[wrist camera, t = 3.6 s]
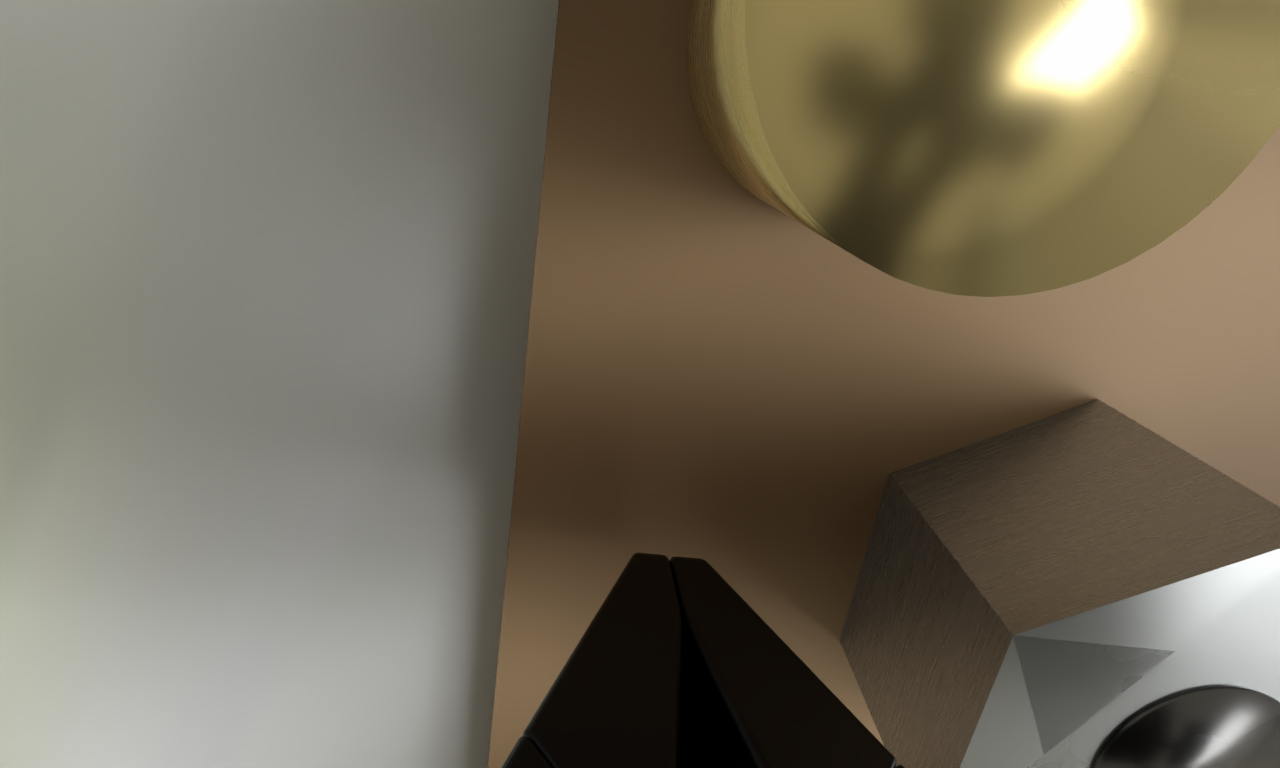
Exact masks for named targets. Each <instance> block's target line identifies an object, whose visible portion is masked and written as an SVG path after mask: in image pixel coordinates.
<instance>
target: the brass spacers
mask: <svg viewBox="0 0 1280 768" xmlns="http://www.w3.org/2000/svg"><path fill="white" fill-rule="evenodd" d="M686 67H687V78H688V85H689V92H690V97H691V101H692V104H693V108H694V112H695V115H696V118H697V121H698V123H699V125H700V128H701V130H702V133H703V135H704V137H705V139H706V141H707V143H708V144H709V146H710V148H711V149H712V151H713V153H714V155H715V156H716V158H717V159H718V160H719V161H720V163H721V164H722V165H723V167H724V168H725V169H726V170H727V172H728V173H729V174H730V175H731V176H732V177H733V178H734V179H735V180H736V181H737V182H738V183H739V184H740V185H741V186H742V187H744V188H745V189H746V190H748V191H749V192H751V193H752V194H753V195H755V196H756V197H757V198H759V199H760V200H762V201H764V202H765V203H767V204H769V205H770V206H772V207H774V208H775V209H777V210H779V211H780V212H782V213H784V214H785V215H787V216H789V217H790V218H792V219H794V220H795V221H797V222H799V223H800V224H802V225H804V226H805V227H807V228H809V229H810V230H812V231H814V232H815V233H817V234H819V235H820V236H822V237H824V238H825V239H827V240H829V241H830V242H832V243H834V244H835V245H837V246H839V247H840V248H842V249H844V250H845V251H847V252H849V253H850V254H852V255H854V256H855V257H857V258H859V259H860V260H862V261H864V262H866V263H867V264H869V265H871V266H873V267H875V268H877V269H879V270H880V271H882V272H884V273H886V274H888V275H890V276H892V277H894V278H897V279H899V280H902V281H905V282H908V283H911V284H913V285H916V286H919V287H922V288H925V289H930V290H935V291H939V292H944V293H949V294H954V295H964V296H978V297H1001V296H1018V295H1027V294H1032V293H1037V292H1043V291H1048V290H1053V289H1058V288H1061V287H1065V286H1068V285H1071V284H1074V283H1077V282H1081V281H1084V280H1087V279H1090V278H1093V277H1095V276H1097V275H1100V274H1102V273H1104V272H1107V271H1109V270H1111V269H1113V268H1116V267H1118V266H1120V265H1123V264H1125V263H1127V262H1129V261H1130V260H1132V259H1134V258H1135V257H1137V256H1139V255H1141V254H1142V253H1144V252H1146V251H1148V250H1149V249H1151V248H1153V247H1155V246H1156V245H1158V244H1160V243H1161V242H1162V241H1164V240H1165V239H1167V238H1168V237H1169V236H1171V235H1172V234H1174V233H1175V232H1176V231H1178V230H1179V229H1181V228H1182V227H1183V226H1185V225H1186V224H1187V223H1189V222H1190V221H1192V220H1193V219H1194V218H1195V217H1196V216H1197V215H1198V214H1200V213H1201V212H1202V211H1203V210H1204V209H1205V208H1206V207H1207V206H1209V205H1210V204H1211V203H1212V202H1213V201H1214V200H1215V199H1217V198H1218V197H1219V196H1220V195H1221V194H1222V193H1223V192H1224V191H1225V190H1226V189H1227V188H1228V187H1229V186H1230V185H1231V184H1232V182H1233V181H1234V180H1235V179H1236V178H1237V177H1238V176H1239V175H1240V174H1241V173H1242V172H1243V171H1244V170H1245V168H1246V167H1247V166H1248V165H1249V164H1250V163H1251V162H1252V161H1253V159H1254V158H1255V157H1256V155H1257V154H1258V153H1259V152H1260V150H1261V149H1262V148H1263V146H1264V145H1265V144H1266V142H1267V141H1268V140H1269V138H1270V137H1271V136H1272V135H1273V133H1274V132H1275V131H1276V129H1277V128H1278V126H1279V125H1280V0H693V4H692V9H691V14H690V18H689V23H688V32H687V43H686Z"/></svg>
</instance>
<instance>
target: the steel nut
mask: <svg viewBox="0 0 1280 768" xmlns="http://www.w3.org/2000/svg"><path fill="white" fill-rule="evenodd" d="M839 641H840V643H841V645H842V648H843V650H844V652H845V655H846V657H847V659H848V662H849V664H850V666H851V669H852V671H853V673H854V676H855V678H856V681H857V683H858V685H859V688H860V690H861V692H862V695H863V697H864V699H865V702H866V704H867V706H868V709H869V711H870V713H871V716H872V718H873V721H874V723H875V725H876V728H877V730H878V732H879V735H880V737H881V739H882V742H883V744H884V746H885V748H886V749H887V750H888V751H889V752H890V753H891V754H892V755H893V756H894V757H895V758H896V760H897V764H896V766H898V765H902V766H904V767H905V768H1280V507H1279V506H1277V505H1276V504H1274V503H1272V502H1271V501H1269V500H1267V499H1265V498H1264V497H1262V496H1260V495H1259V494H1257V493H1255V492H1254V491H1252V490H1250V489H1249V488H1247V487H1245V486H1244V485H1242V484H1240V483H1239V482H1237V481H1235V480H1233V479H1232V478H1230V477H1228V476H1227V475H1225V474H1223V473H1222V472H1220V471H1218V470H1217V469H1215V468H1213V467H1212V466H1210V465H1208V464H1207V463H1205V462H1203V461H1201V460H1200V459H1198V458H1196V457H1195V456H1193V455H1191V454H1190V453H1188V452H1186V451H1185V450H1183V449H1181V448H1180V447H1178V446H1176V445H1175V444H1173V443H1171V442H1169V441H1168V440H1166V439H1164V438H1163V437H1161V436H1159V435H1158V434H1156V433H1154V432H1153V431H1151V430H1149V429H1148V428H1146V427H1144V426H1143V425H1141V424H1139V423H1137V422H1136V421H1134V420H1132V419H1131V418H1129V417H1127V416H1126V415H1124V414H1122V413H1121V412H1119V411H1117V410H1116V409H1114V408H1112V407H1110V406H1109V405H1107V404H1105V403H1104V402H1102V401H1100V400H1099V399H1096V400H1094V401H1091V402H1088V403H1085V404H1082V405H1080V406H1077V407H1074V408H1071V409H1068V410H1066V411H1063V412H1060V413H1057V414H1054V415H1052V416H1049V417H1046V418H1043V419H1040V420H1038V421H1035V422H1032V423H1029V424H1026V425H1023V426H1021V427H1018V428H1015V429H1012V430H1009V431H1007V432H1004V433H1001V434H998V435H995V436H993V437H990V438H987V439H984V440H981V441H979V442H976V443H973V444H970V445H967V446H965V447H962V448H959V449H956V450H953V451H951V452H948V453H945V454H942V455H939V456H937V457H934V458H931V459H928V460H925V461H923V462H920V463H917V464H914V465H911V466H909V467H906V468H903V469H900V470H897V471H895V472H892V473H890V474H889V478H888V481H887V484H886V488H885V491H884V494H883V498H882V501H881V504H880V507H879V511H878V514H877V517H876V521H875V524H874V527H873V531H872V534H871V537H870V541H869V544H868V547H867V551H866V554H865V557H864V560H863V564H862V567H861V570H860V574H859V577H858V580H857V584H856V587H855V590H854V594H853V597H852V600H851V604H850V607H849V610H848V614H847V617H846V620H845V623H844V627H843V630H842V633H841V637H840V640H839Z"/></svg>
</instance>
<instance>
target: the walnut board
mask: <svg viewBox="0 0 1280 768" xmlns="http://www.w3.org/2000/svg"><path fill="white" fill-rule="evenodd" d="M692 4H693V0H559V6H558V17H557V28H556V38H555V49H554V60H553V71H552V82H551V92H550V103H549V114H548V125H547V135H546V146H545V157H544V168H543V179H542V189H541V200H540V211H539V222H538V232H537V243H536V254H535V265H534V276H533V286H532V297H531V308H530V319H529V329H528V340H527V351H526V362H525V373H524V383H523V394H522V405H521V416H520V426H519V437H518V448H517V459H516V470H515V480H514V491H513V502H512V513H511V523H510V534H509V545H508V556H507V566H506V577H505V588H504V599H503V610H502V620H501V631H500V642H499V653H498V663H497V674H496V685H495V696H494V707H493V717H492V728H491V739H490V750H489V760H488V768H501V766H502V765H503V763H504V761H505V760H506V758H507V756H508V755H509V753H510V752H511V750H512V748H513V747H514V745H515V744H516V742H517V740H518V739H519V738H520V737H522V735H523V732H524V730H525V728H526V727H527V725H528V723H529V722H530V720H531V719H532V717H533V715H534V714H535V712H536V710H537V709H538V707H539V706H540V704H541V702H542V701H543V699H544V698H545V696H546V694H547V693H548V691H549V689H550V688H551V686H552V685H553V683H554V681H555V680H556V678H557V676H558V675H559V673H560V672H561V670H562V668H563V667H564V665H565V664H566V662H567V660H568V659H569V657H570V655H571V654H572V652H573V651H574V649H575V647H576V646H577V644H578V643H579V641H580V639H581V638H582V636H583V634H584V633H585V631H586V630H587V628H588V626H589V625H590V623H591V622H592V620H593V618H594V617H595V615H596V613H597V612H598V610H599V609H600V607H601V605H602V604H603V602H604V601H605V599H606V597H607V596H608V594H609V592H610V591H611V589H612V588H613V586H614V584H615V583H616V581H617V579H618V578H619V576H620V575H621V573H622V571H623V570H624V568H625V567H626V565H627V563H628V562H629V560H630V558H631V557H632V556H633V555H634V554H635V553H648V554H658V555H665V556H667V557H668V559H669V560H670V559H671V558H672V557H675V556H679V557H689V558H700V559H704V560H705V561H707V562H708V563H709V564H710V565H711V566H712V567H713V568H714V569H715V570H716V571H717V572H718V573H719V575H720V576H721V577H722V578H723V579H724V580H725V581H726V582H727V583H728V584H729V585H730V586H731V587H732V588H733V589H734V590H735V591H736V592H737V593H738V594H739V595H740V596H741V597H742V599H743V600H744V601H745V602H746V603H747V604H748V605H749V606H750V607H751V608H752V609H753V610H754V611H755V612H756V613H757V614H758V615H759V616H760V617H761V618H762V619H763V620H764V621H765V623H766V624H767V625H768V626H769V627H770V628H771V629H772V630H773V631H774V632H775V633H776V634H777V635H778V636H779V637H780V638H781V639H782V640H783V641H784V642H785V643H786V644H787V645H788V647H789V648H790V649H791V650H792V651H793V652H794V653H795V654H796V655H797V656H798V657H799V658H800V659H801V660H802V661H803V662H804V663H805V664H806V665H807V666H808V667H809V668H810V669H811V671H812V672H813V673H814V674H815V675H816V676H817V677H818V678H819V679H820V680H821V681H822V682H823V683H824V684H825V685H826V686H827V687H828V688H829V689H830V690H831V691H832V692H833V693H834V694H835V696H836V697H837V698H838V699H839V700H840V701H841V702H842V703H843V704H844V705H845V706H846V707H847V708H848V709H849V710H850V711H851V712H852V713H853V714H854V715H855V716H856V717H857V718H858V720H859V721H860V722H861V723H862V724H863V725H864V726H865V727H866V728H867V729H868V730H869V731H870V732H871V733H872V734H873V735H874V736H875V737H876V738H877V739H878V740H879V741H880V742H881V744H882V745H883V746H884V744H883V742H882V739H881V737H880V735H879V732H878V730H877V728H876V725H875V723H874V721H873V718H872V716H871V713H870V711H869V709H868V706H867V704H866V702H865V699H864V697H863V695H862V692H861V690H860V688H859V685H858V683H857V681H856V678H855V676H854V673H853V671H852V669H851V666H850V664H849V662H848V659H847V657H846V655H845V652H844V650H843V648H842V645H841V643H840V641H839V640H840V637H841V633H842V630H843V627H844V623H845V620H846V617H847V614H848V610H849V607H850V604H851V600H852V597H853V594H854V590H855V587H856V584H857V580H858V577H859V574H860V570H861V567H862V564H863V560H864V557H865V554H866V551H867V547H868V544H869V541H870V537H871V534H872V531H873V527H874V524H875V521H876V517H877V514H878V511H879V507H880V504H881V501H882V498H883V494H884V491H885V488H886V484H887V481H888V478H889V474H890V473H892V472H895V471H897V470H900V469H903V468H906V467H909V466H911V465H914V464H917V463H920V462H923V461H925V460H928V459H931V458H934V457H937V456H939V455H942V454H945V453H948V452H951V451H953V450H956V449H959V448H962V447H965V446H967V445H970V444H973V443H976V442H979V441H981V440H984V439H987V438H990V437H993V436H995V435H998V434H1001V433H1004V432H1007V431H1009V430H1012V429H1015V428H1018V427H1021V426H1023V425H1026V424H1029V423H1032V422H1035V421H1038V420H1040V419H1043V418H1046V417H1049V416H1052V415H1054V414H1057V413H1060V412H1063V411H1066V410H1068V409H1071V408H1074V407H1077V406H1080V405H1082V404H1085V403H1088V402H1091V401H1094V400H1096V399H1099V400H1100V401H1102V402H1104V403H1105V404H1107V405H1109V406H1110V407H1112V408H1114V409H1116V410H1117V411H1119V412H1121V413H1122V414H1124V415H1126V416H1127V417H1129V418H1131V419H1132V420H1134V421H1136V422H1137V423H1139V424H1141V425H1143V426H1144V427H1146V428H1148V429H1149V430H1151V431H1153V432H1154V433H1156V434H1158V435H1159V436H1161V437H1163V438H1164V439H1166V440H1168V441H1169V442H1171V443H1173V444H1175V445H1176V446H1178V447H1180V448H1181V449H1183V450H1185V451H1186V452H1188V453H1190V454H1191V455H1193V456H1195V457H1196V458H1198V459H1200V460H1201V461H1203V462H1205V463H1207V464H1208V465H1210V466H1212V467H1213V468H1215V469H1217V470H1218V471H1220V472H1222V473H1223V474H1225V475H1227V476H1228V477H1230V478H1232V479H1233V480H1235V481H1237V482H1239V483H1240V484H1242V485H1244V486H1245V487H1247V488H1249V489H1250V490H1252V491H1254V492H1255V493H1257V494H1259V495H1260V496H1262V497H1264V498H1265V499H1267V500H1269V501H1271V502H1272V503H1274V504H1276V505H1277V506H1279V507H1280V125H1279V126H1278V128H1277V129H1276V131H1275V132H1274V133H1273V135H1272V136H1271V137H1270V138H1269V140H1268V141H1267V142H1266V144H1265V145H1264V146H1263V148H1262V149H1261V150H1260V152H1259V153H1258V154H1257V155H1256V157H1255V158H1254V159H1253V161H1252V162H1251V163H1250V164H1249V165H1248V166H1247V167H1246V168H1245V170H1244V171H1243V172H1242V173H1241V174H1240V175H1239V176H1238V177H1237V178H1236V179H1235V180H1234V181H1233V182H1232V184H1231V185H1230V186H1229V187H1228V188H1227V189H1226V190H1225V191H1224V192H1223V193H1222V194H1221V195H1220V196H1219V197H1218V198H1217V199H1215V200H1214V201H1213V202H1212V203H1211V204H1210V205H1209V206H1207V207H1206V208H1205V209H1204V210H1203V211H1202V212H1201V213H1200V214H1198V215H1197V216H1196V217H1195V218H1194V219H1193V220H1192V221H1190V222H1189V223H1187V224H1186V225H1185V226H1183V227H1182V228H1181V229H1179V230H1178V231H1176V232H1175V233H1174V234H1172V235H1171V236H1169V237H1168V238H1167V239H1165V240H1164V241H1162V242H1161V243H1160V244H1158V245H1156V246H1155V247H1153V248H1151V249H1149V250H1148V251H1146V252H1144V253H1142V254H1141V255H1139V256H1137V257H1135V258H1134V259H1132V260H1130V261H1129V262H1127V263H1125V264H1123V265H1120V266H1118V267H1116V268H1113V269H1111V270H1109V271H1107V272H1104V273H1102V274H1100V275H1097V276H1095V277H1093V278H1090V279H1087V280H1084V281H1081V282H1077V283H1074V284H1071V285H1068V286H1065V287H1061V288H1058V289H1053V290H1048V291H1043V292H1037V293H1032V294H1027V295H1018V296H1001V297H978V296H964V295H954V294H949V293H944V292H939V291H935V290H930V289H925V288H922V287H919V286H916V285H913V284H911V283H908V282H905V281H902V280H899V279H897V278H894V277H892V276H890V275H888V274H886V273H884V272H882V271H880V270H879V269H877V268H875V267H873V266H871V265H869V264H867V263H866V262H864V261H862V260H860V259H859V258H857V257H855V256H854V255H852V254H850V253H849V252H847V251H845V250H844V249H842V248H840V247H839V246H837V245H835V244H834V243H832V242H830V241H829V240H827V239H825V238H824V237H822V236H820V235H819V234H817V233H815V232H814V231H812V230H810V229H809V228H807V227H805V226H804V225H802V224H800V223H799V222H797V221H795V220H794V219H792V218H790V217H789V216H787V215H785V214H784V213H782V212H780V211H779V210H777V209H775V208H774V207H772V206H770V205H769V204H767V203H765V202H764V201H762V200H760V199H759V198H757V197H756V196H755V195H753V194H752V193H751V192H749V191H748V190H746V189H745V188H744V187H742V186H741V185H740V184H739V183H738V182H737V181H736V180H735V179H734V178H733V177H732V176H731V175H730V174H729V173H728V172H727V170H726V169H725V168H724V167H723V165H722V164H721V163H720V161H719V160H718V159H717V158H716V156H715V155H714V153H713V151H712V149H711V148H710V146H709V144H708V143H707V141H706V139H705V137H704V135H703V133H702V130H701V128H700V125H699V123H698V121H697V118H696V115H695V112H694V108H693V104H692V101H691V97H690V92H689V85H688V78H687V67H686V43H687V32H688V23H689V18H690V14H691V9H692ZM884 747H885V746H884Z"/></svg>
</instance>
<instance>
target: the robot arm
mask: <svg viewBox="0 0 1280 768" xmlns="http://www.w3.org/2000/svg"><path fill="white" fill-rule="evenodd" d="M896 764H897V760H896V758H895V757H894V756H893V755H892V754H891V753H890V752H889V751H888V750H887V749H886V748H885V747H884V746H883V745H882V744H881V742H880V741H879V740H878V739H877V738H876V737H875V736H874V735H873V734H872V733H871V732H870V731H869V730H868V729H867V728H866V727H865V726H864V725H863V724H862V723H861V722H860V721H859V720H858V718H857V717H856V716H855V715H854V714H853V713H852V712H851V711H850V710H849V709H848V708H847V707H846V706H845V705H844V704H843V703H842V702H841V701H840V700H839V699H838V698H837V697H836V696H835V694H834V693H833V692H832V691H831V690H830V689H829V688H828V687H827V686H826V685H825V684H824V683H823V682H822V681H821V680H820V679H819V678H818V677H817V676H816V675H815V674H814V673H813V672H812V671H811V669H810V668H809V667H808V666H807V665H806V664H805V663H804V662H803V661H802V660H801V659H800V658H799V657H798V656H797V655H796V654H795V653H794V652H793V651H792V650H791V649H790V648H789V647H788V645H787V644H786V643H785V642H784V641H783V640H782V639H781V638H780V637H779V636H778V635H777V634H776V633H775V632H774V631H773V630H772V629H771V628H770V627H769V626H768V625H767V624H766V623H765V621H764V620H763V619H762V618H761V617H760V616H759V615H758V614H757V613H756V612H755V611H754V610H753V609H752V608H751V607H750V606H749V605H748V604H747V603H746V602H745V601H744V600H743V599H742V597H741V596H740V595H739V594H738V593H737V592H736V591H735V590H734V589H733V588H732V587H731V586H730V585H729V584H728V583H727V582H726V581H725V580H724V579H723V578H722V577H721V576H720V575H719V573H718V572H717V571H716V570H715V569H714V568H713V567H712V566H711V565H710V564H709V563H708V562H707V561H705V560H704V559H700V558H689V557H679V556H675V557H672V558H671V559H670V560H669V559H668V557H667V556H665V555H658V554H648V553H635V554H634V555H633V556H632V557H631V558H630V560H629V562H628V563H627V565H626V567H625V568H624V570H623V571H622V573H621V575H620V576H619V578H618V579H617V581H616V583H615V584H614V586H613V588H612V589H611V591H610V592H609V594H608V596H607V597H606V599H605V601H604V602H603V604H602V605H601V607H600V609H599V610H598V612H597V613H596V615H595V617H594V618H593V620H592V622H591V623H590V625H589V626H588V628H587V630H586V631H585V633H584V634H583V636H582V638H581V639H580V641H579V643H578V644H577V646H576V647H575V649H574V651H573V652H572V654H571V655H570V657H569V659H568V660H567V662H566V664H565V665H564V667H563V668H562V670H561V672H560V673H559V675H558V676H557V678H556V680H555V681H554V683H553V685H552V686H551V688H550V689H549V691H548V693H547V694H546V696H545V698H544V699H543V701H542V702H541V704H540V706H539V707H538V709H537V710H536V712H535V714H534V715H533V717H532V719H531V720H530V722H529V723H528V725H527V727H526V728H525V730H524V732H523V735H522V737H520V738H519V739H518V740H517V742H516V744H515V745H514V747H513V748H512V750H511V752H510V753H509V755H508V756H507V758H506V760H505V761H504V763H503V765H502V766H501V768H905V767H904V766H902V765H898V766H896Z"/></svg>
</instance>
